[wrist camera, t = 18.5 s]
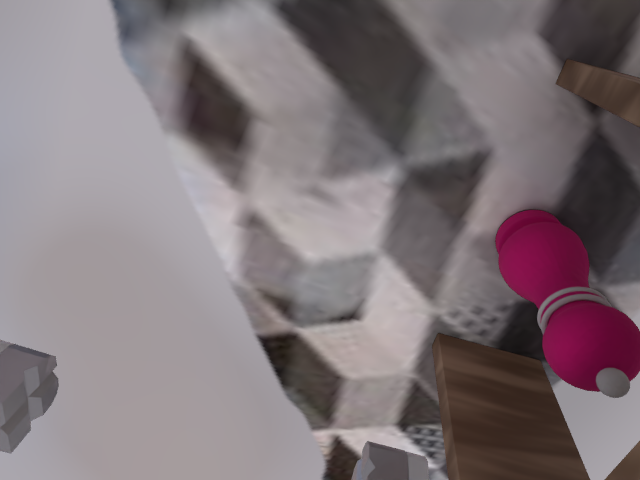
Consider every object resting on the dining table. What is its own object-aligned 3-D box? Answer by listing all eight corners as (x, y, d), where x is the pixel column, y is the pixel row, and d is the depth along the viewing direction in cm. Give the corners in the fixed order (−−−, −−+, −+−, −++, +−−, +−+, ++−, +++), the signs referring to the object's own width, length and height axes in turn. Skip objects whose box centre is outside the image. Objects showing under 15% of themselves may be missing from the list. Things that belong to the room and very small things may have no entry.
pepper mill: (584, 233, 44) (716, 391, 26) (526, 281, 47) (608, 450, 29) (530, 189, 42) (631, 325, 25) (474, 242, 45) (528, 394, 28)
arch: (567, 58, 37) (961, 194, 11) (710, 96, 37) (1430, 318, 11) (432, 345, 52) (472, 672, 27) (532, 372, 52) (667, 725, 27)
